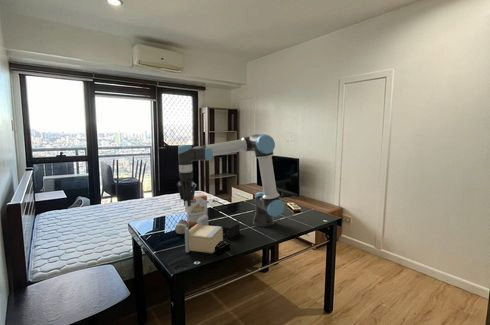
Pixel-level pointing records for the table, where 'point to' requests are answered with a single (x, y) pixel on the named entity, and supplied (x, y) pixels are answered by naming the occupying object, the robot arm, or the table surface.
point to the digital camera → (231, 230)
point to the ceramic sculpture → (182, 226)
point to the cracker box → (197, 209)
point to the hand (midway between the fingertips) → (187, 211)
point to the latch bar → (201, 218)
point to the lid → (203, 231)
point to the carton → (202, 241)
